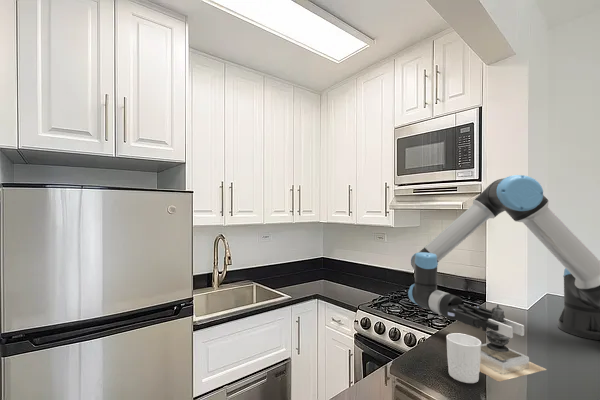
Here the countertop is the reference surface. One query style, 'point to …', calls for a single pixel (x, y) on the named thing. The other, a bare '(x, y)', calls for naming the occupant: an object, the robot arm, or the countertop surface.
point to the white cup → (463, 357)
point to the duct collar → (511, 364)
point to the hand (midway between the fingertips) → (517, 331)
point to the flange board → (499, 377)
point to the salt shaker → (495, 338)
